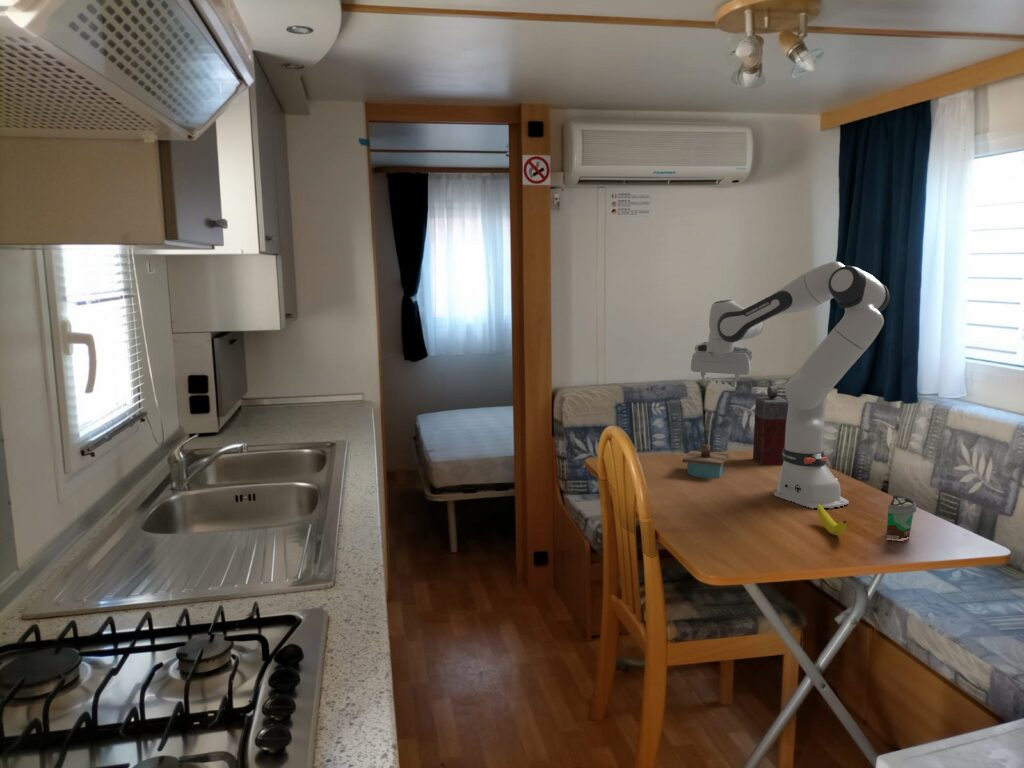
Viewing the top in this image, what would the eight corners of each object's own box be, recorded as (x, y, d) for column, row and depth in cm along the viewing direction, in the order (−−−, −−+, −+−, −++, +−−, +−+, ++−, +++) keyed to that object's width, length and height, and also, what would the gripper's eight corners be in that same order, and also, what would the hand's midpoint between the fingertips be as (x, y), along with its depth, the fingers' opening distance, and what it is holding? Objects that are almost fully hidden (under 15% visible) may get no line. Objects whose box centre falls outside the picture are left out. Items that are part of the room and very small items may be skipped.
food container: (912, 546, 193) (915, 509, 191) (885, 542, 196) (888, 505, 194) (916, 532, 203) (918, 496, 201) (890, 528, 206) (893, 492, 205)
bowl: (727, 476, 256) (728, 462, 255) (698, 479, 253) (699, 464, 252) (710, 468, 267) (711, 454, 266) (682, 470, 264) (682, 456, 263)
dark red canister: (792, 465, 270) (796, 388, 265) (761, 465, 270) (764, 388, 265) (782, 458, 279) (786, 383, 274) (752, 458, 278) (755, 384, 274)
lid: (721, 466, 250) (721, 451, 250) (682, 462, 256) (682, 447, 255) (728, 457, 262) (728, 443, 261) (690, 453, 268) (691, 439, 267)
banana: (822, 519, 213) (824, 498, 212) (849, 544, 194) (851, 521, 193) (812, 519, 213) (813, 498, 212) (838, 544, 195) (839, 521, 194)
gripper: (753, 347, 260) (751, 386, 263) (694, 344, 269) (693, 382, 271) (750, 349, 255) (749, 389, 257) (690, 346, 264) (689, 385, 266)
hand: (719, 385), depth 264 cm, fingers open, 8 cm apart
